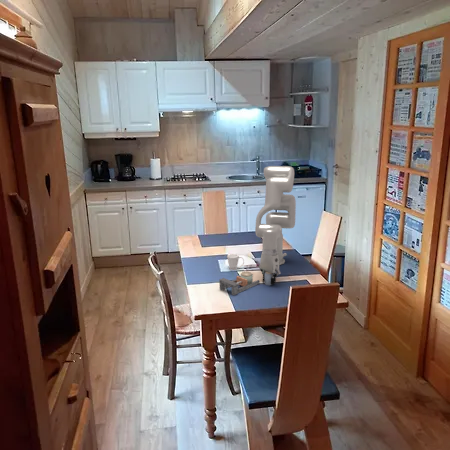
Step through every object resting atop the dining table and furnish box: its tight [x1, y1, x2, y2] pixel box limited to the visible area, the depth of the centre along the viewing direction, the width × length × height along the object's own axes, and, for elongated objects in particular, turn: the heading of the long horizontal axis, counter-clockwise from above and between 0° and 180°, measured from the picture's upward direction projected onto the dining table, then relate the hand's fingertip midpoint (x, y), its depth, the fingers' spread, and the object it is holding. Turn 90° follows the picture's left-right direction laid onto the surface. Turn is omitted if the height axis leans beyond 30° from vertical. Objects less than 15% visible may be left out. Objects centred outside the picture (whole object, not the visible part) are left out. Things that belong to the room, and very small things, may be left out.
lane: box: [219, 277, 260, 296], centre depth 224 cm, size 20×11×6 cm, turn 134°
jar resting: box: [240, 271, 254, 284], centre depth 227 cm, size 6×6×6 cm
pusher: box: [228, 275, 247, 289], centre depth 222 cm, size 10×7×4 cm
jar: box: [263, 271, 274, 286], centre depth 227 cm, size 5×5×7 cm
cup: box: [226, 253, 245, 271], centre depth 249 cm, size 7×10×8 cm
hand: (269, 282), depth 228 cm, fingers closed on jar, 5 cm apart
